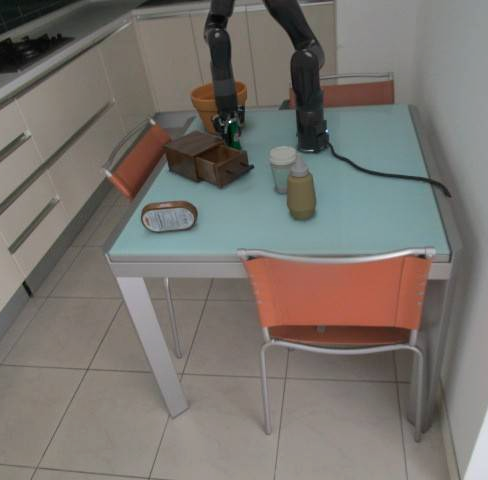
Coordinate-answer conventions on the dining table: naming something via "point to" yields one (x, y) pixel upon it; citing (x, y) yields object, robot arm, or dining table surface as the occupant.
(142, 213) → the tin
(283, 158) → the coffee cup
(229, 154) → the drawer
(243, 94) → the flower pot
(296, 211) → the squeeze bottle
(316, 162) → the dining table surface
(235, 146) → the soda can
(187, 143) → the cabinet
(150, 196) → the dining table surface
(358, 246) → the dining table surface
